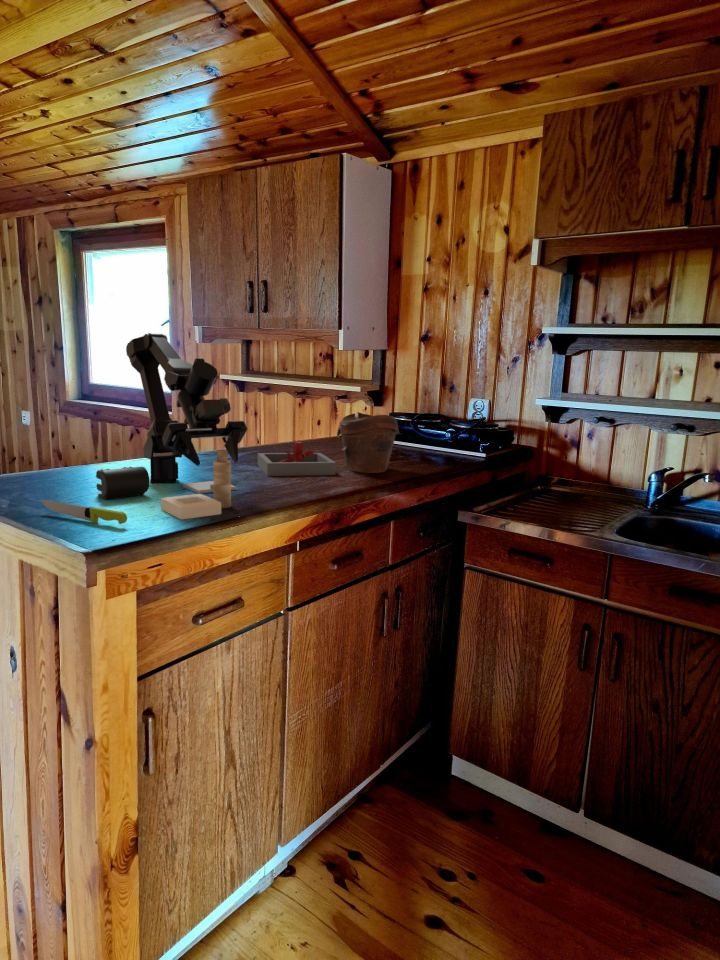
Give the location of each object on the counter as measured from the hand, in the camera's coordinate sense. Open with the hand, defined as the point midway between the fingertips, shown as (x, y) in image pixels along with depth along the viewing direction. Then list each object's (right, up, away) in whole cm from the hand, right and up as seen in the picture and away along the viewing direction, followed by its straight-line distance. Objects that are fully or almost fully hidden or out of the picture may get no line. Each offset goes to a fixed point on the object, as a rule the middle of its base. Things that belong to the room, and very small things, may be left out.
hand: (218, 463), depth 139 cm
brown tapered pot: (+33, -1, +55) cm, 65 cm away
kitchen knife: (-23, -12, -16) cm, 30 cm away
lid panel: (-6, -6, +18) cm, 20 cm away
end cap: (-23, -8, +6) cm, 25 cm away
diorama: (+11, 0, +50) cm, 51 cm away
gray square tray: (+12, -1, +50) cm, 51 cm away
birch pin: (+1, -10, 0) cm, 10 cm away
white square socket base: (-4, -10, -6) cm, 13 cm away
